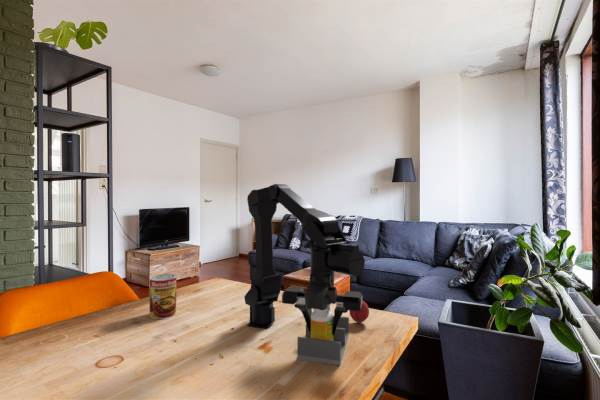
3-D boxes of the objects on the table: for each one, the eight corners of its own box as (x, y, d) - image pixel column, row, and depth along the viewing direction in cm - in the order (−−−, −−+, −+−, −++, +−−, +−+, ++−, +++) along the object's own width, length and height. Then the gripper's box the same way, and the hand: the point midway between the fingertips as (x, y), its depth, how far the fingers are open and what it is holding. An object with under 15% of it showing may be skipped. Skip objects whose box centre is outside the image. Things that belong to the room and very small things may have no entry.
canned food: (153, 321, 95) (153, 281, 95) (146, 313, 101) (146, 276, 101) (179, 315, 100) (179, 277, 100) (172, 308, 106) (172, 272, 106)
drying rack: (297, 359, 73) (297, 337, 73) (313, 331, 88) (313, 313, 88) (340, 365, 70) (340, 343, 70) (348, 335, 85) (348, 317, 85)
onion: (369, 328, 90) (369, 300, 90) (348, 326, 91) (349, 299, 91) (368, 320, 96) (369, 294, 96) (349, 319, 97) (349, 293, 97)
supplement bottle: (330, 350, 72) (329, 308, 72) (308, 347, 74) (307, 306, 74) (335, 340, 77) (335, 301, 77) (314, 337, 79) (313, 299, 79)
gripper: (274, 273, 70) (273, 343, 70) (358, 280, 65) (358, 355, 65) (289, 263, 81) (288, 323, 81) (362, 268, 76) (362, 332, 76)
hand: (321, 333), depth 76 cm, fingers closed on supplement bottle, 5 cm apart
